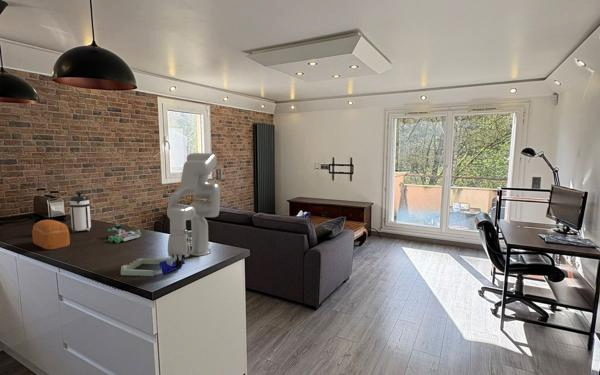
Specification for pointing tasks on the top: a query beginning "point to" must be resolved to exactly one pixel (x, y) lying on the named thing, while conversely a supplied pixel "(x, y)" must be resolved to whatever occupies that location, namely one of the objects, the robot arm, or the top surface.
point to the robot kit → (123, 235)
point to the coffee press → (80, 213)
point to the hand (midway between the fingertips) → (179, 267)
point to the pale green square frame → (129, 270)
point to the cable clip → (166, 267)
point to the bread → (50, 234)
